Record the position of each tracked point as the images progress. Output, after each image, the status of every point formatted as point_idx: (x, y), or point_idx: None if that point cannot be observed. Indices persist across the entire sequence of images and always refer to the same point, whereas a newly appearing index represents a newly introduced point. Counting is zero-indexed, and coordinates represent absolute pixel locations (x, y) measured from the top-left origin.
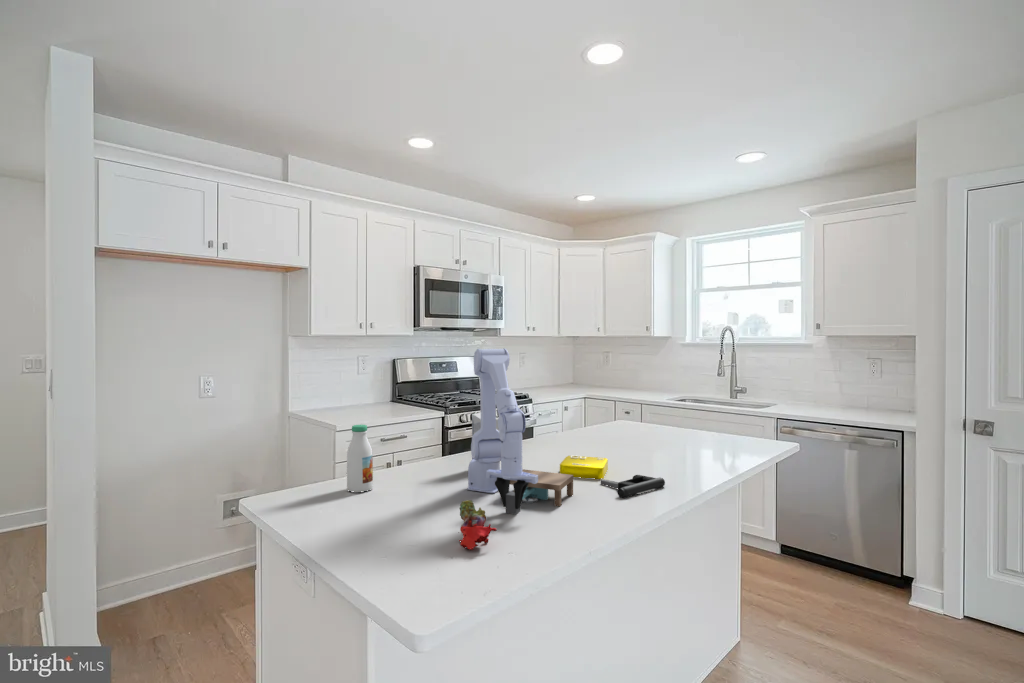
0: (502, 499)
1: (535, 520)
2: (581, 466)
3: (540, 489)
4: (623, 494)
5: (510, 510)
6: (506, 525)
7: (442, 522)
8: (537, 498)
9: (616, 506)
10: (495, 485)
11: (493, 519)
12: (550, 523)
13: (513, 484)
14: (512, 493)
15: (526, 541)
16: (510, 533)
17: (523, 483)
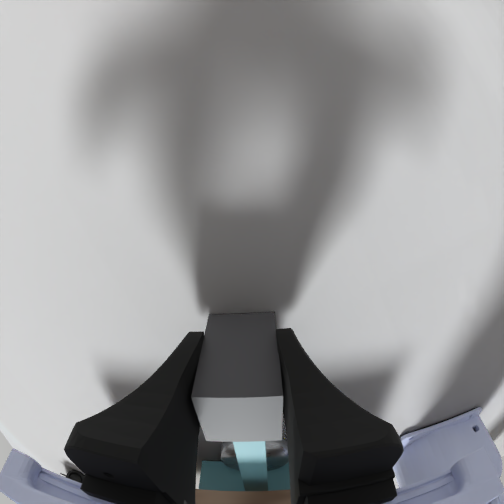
0: (297, 354)
1: (81, 280)
2: None
3: (224, 489)
4: (68, 473)
5: (242, 324)
6: (158, 130)
7: (487, 54)
8: (221, 458)
9: (40, 434)
10: (384, 421)
11: (290, 183)
12: (25, 273)
13: (133, 457)
14: (245, 423)
15: (11, 41)
16: (87, 50)
17: (82, 470)
